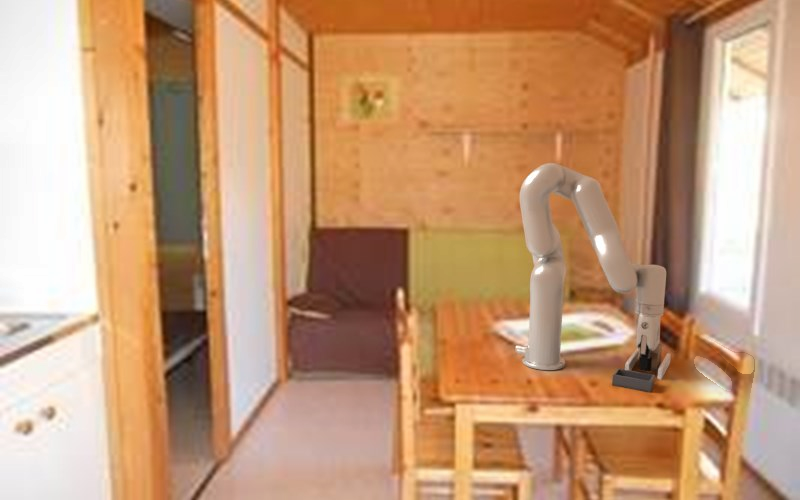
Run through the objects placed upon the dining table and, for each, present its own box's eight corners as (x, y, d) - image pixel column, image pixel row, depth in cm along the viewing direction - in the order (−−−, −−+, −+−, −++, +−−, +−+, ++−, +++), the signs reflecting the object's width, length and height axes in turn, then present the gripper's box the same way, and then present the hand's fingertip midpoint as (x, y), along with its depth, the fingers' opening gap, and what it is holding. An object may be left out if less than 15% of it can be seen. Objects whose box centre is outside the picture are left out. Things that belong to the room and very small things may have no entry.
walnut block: (638, 370, 194) (639, 350, 193) (643, 360, 203) (644, 341, 202) (656, 373, 192) (658, 353, 191) (660, 362, 200) (662, 343, 199)
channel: (624, 373, 191) (625, 363, 191) (635, 357, 205) (636, 348, 204) (661, 379, 186) (661, 369, 186) (669, 363, 200) (670, 353, 199)
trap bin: (612, 385, 182) (612, 374, 181) (616, 378, 187) (617, 368, 186) (650, 392, 177) (650, 381, 176) (654, 385, 182) (654, 374, 182)
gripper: (658, 316, 179) (653, 380, 182) (667, 304, 192) (663, 364, 195) (630, 312, 183) (625, 375, 186) (641, 301, 195) (636, 360, 199)
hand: (644, 369), depth 190 cm, fingers closed
